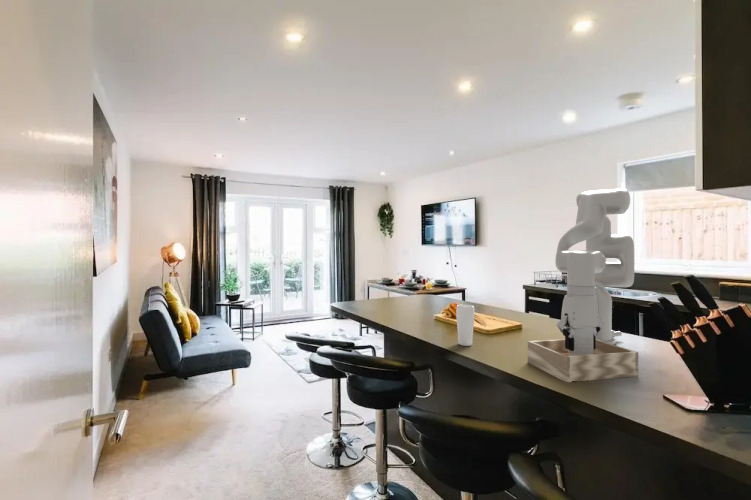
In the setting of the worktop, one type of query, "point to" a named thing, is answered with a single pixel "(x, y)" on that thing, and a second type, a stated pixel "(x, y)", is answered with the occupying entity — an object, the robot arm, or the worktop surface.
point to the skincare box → (582, 342)
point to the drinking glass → (465, 324)
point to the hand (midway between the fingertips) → (580, 348)
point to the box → (583, 361)
